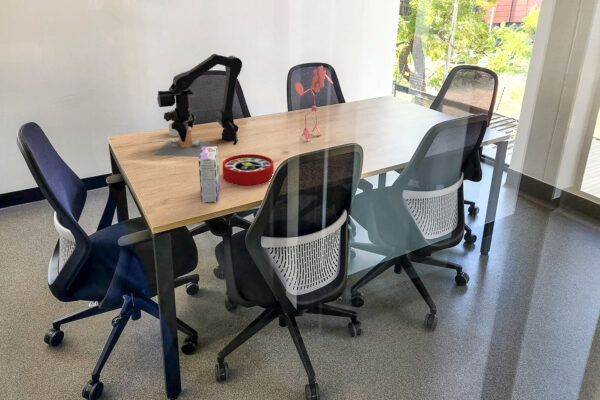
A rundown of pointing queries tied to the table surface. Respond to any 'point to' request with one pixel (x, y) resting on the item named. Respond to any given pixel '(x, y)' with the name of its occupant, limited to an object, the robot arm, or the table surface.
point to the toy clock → (247, 169)
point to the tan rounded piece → (187, 139)
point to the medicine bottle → (172, 131)
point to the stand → (182, 149)
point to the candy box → (209, 174)
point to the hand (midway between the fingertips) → (185, 138)
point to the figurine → (317, 83)
